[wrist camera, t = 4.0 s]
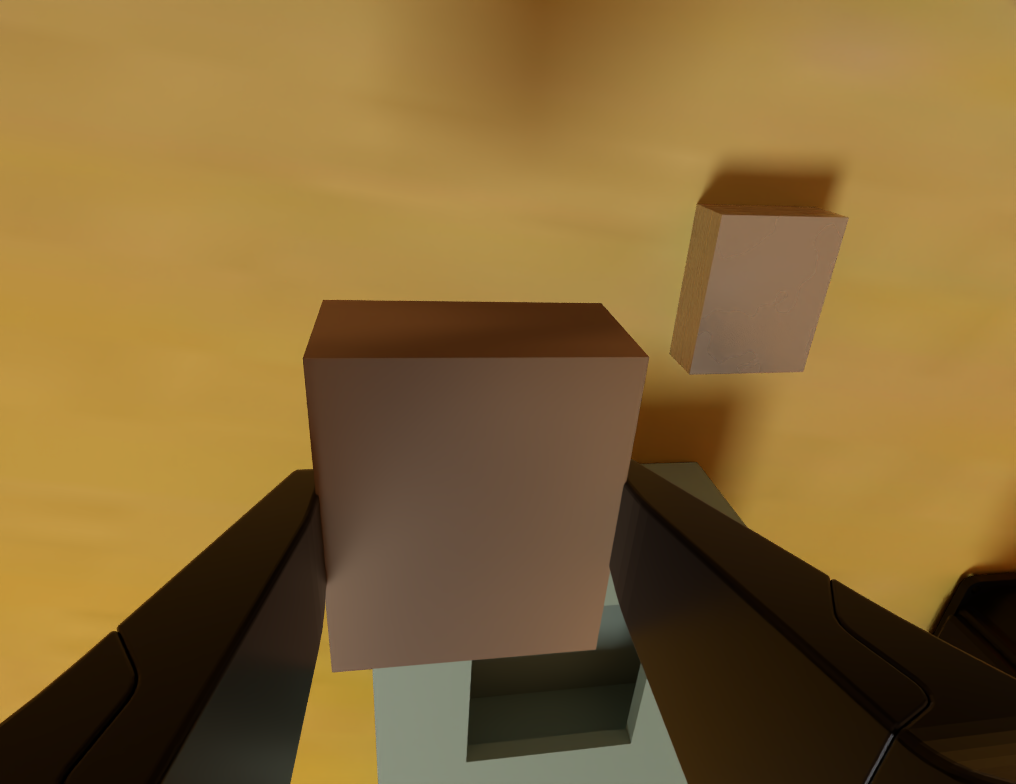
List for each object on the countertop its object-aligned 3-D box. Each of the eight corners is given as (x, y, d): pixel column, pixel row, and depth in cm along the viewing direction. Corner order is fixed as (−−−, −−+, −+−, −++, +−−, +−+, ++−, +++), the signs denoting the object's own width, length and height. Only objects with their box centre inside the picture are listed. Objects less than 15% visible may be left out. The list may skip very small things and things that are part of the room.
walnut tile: (601, 303, 9) (649, 357, 7) (565, 561, 11) (595, 650, 10) (323, 300, 8) (303, 359, 7) (343, 574, 11) (332, 672, 9)
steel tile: (808, 205, 20) (848, 217, 18) (770, 348, 22) (802, 371, 20) (692, 202, 19) (722, 215, 17) (665, 349, 21) (689, 374, 20)
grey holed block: (696, 462, 23) (767, 553, 19) (619, 781, 32) (655, 894, 28) (374, 472, 21) (368, 578, 17) (387, 809, 30) (385, 937, 26)
